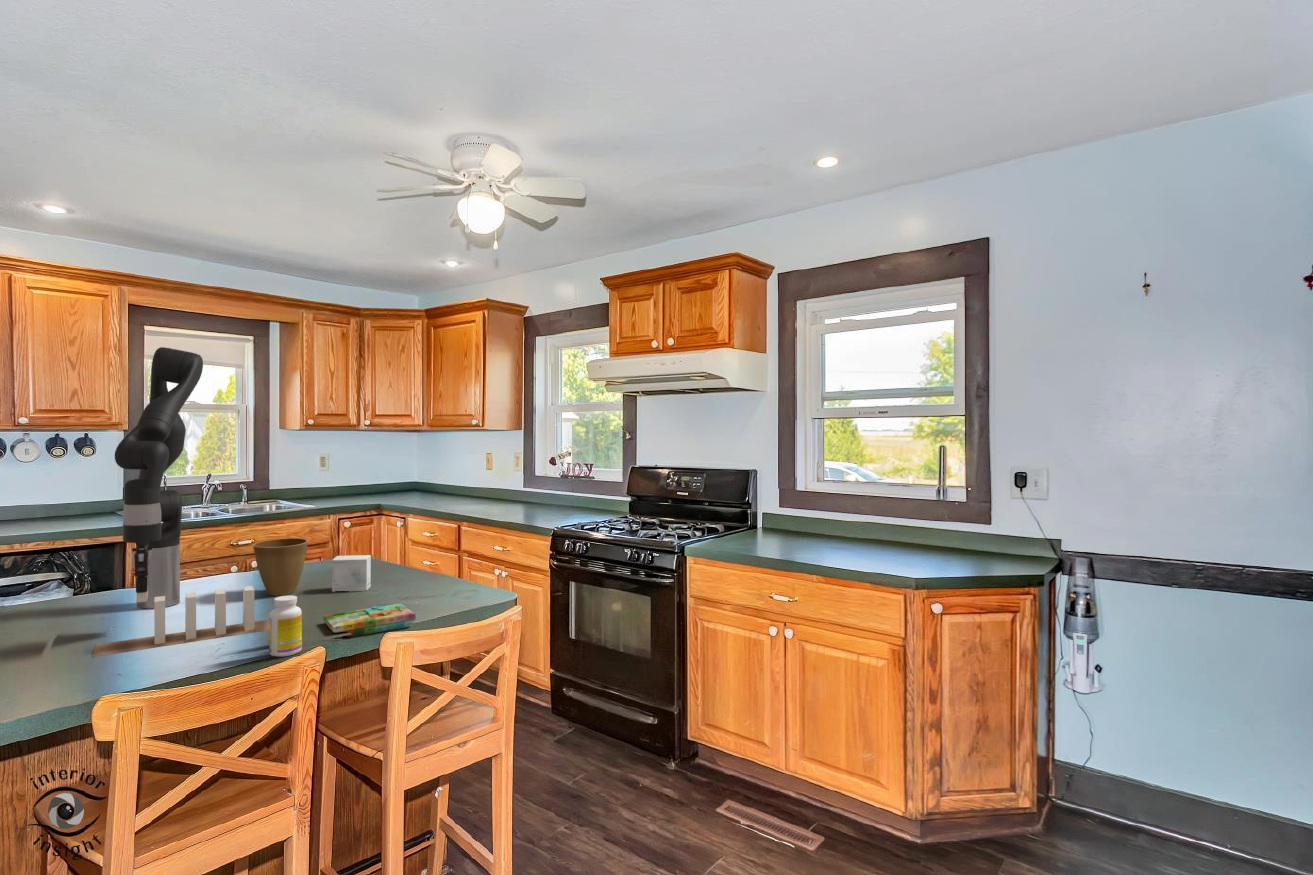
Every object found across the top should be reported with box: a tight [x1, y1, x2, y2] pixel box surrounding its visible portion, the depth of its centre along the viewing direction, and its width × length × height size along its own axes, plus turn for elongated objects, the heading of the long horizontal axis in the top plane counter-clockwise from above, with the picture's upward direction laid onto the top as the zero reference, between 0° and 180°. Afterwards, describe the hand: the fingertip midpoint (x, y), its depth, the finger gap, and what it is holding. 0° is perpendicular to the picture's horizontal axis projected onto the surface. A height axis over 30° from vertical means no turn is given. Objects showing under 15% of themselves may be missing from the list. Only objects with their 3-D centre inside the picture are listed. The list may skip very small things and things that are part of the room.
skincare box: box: [331, 554, 372, 593], centre depth 214 cm, size 10×6×10 cm, turn 102°
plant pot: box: [252, 537, 309, 597], centre depth 208 cm, size 15×15×16 cm
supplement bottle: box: [268, 595, 303, 658], centre depth 155 cm, size 7×7×13 cm
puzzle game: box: [322, 603, 416, 638], centre depth 174 cm, size 12×5×20 cm
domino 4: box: [214, 588, 227, 635], centre depth 165 cm, size 2×5×10 cm, turn 36°
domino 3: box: [184, 592, 197, 640], centre depth 161 cm, size 2×5×10 cm, turn 37°
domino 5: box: [242, 585, 255, 631], centre depth 168 cm, size 2×5×10 cm, turn 36°
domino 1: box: [136, 567, 148, 603], centre depth 165 cm, size 2×5×10 cm, turn 36°
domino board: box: [91, 619, 269, 658], centre depth 161 cm, size 36×10×2 cm, turn 127°
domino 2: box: [153, 596, 166, 644], centre depth 158 cm, size 2×5×10 cm, turn 36°
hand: (142, 589), depth 165 cm, fingers closed on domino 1, 5 cm apart
